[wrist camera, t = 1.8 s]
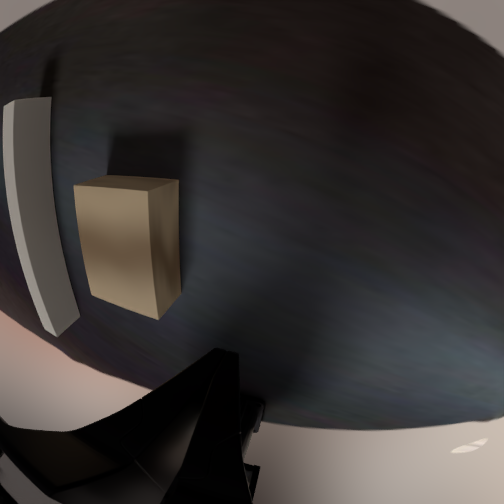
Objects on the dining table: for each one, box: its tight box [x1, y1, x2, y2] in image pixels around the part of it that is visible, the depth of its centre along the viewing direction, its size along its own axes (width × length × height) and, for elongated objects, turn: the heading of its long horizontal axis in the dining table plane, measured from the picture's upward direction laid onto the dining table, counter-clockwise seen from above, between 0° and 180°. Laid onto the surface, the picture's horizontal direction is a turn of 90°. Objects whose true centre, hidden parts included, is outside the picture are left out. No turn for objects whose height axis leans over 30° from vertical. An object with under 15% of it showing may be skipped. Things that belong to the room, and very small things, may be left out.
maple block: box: [74, 175, 181, 320], centre depth 16 cm, size 8×6×4 cm
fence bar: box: [3, 97, 80, 337], centre depth 18 cm, size 22×2×4 cm, turn 176°
